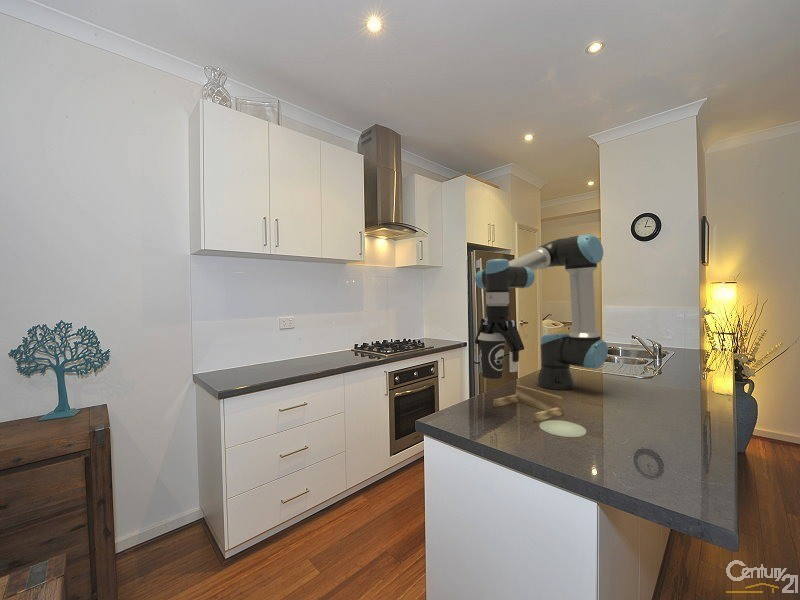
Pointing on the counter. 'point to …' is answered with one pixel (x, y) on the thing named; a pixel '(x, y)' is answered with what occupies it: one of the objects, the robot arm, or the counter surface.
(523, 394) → the shelf bay
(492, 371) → the coffee cup
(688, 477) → the counter surface
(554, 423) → the coaster
